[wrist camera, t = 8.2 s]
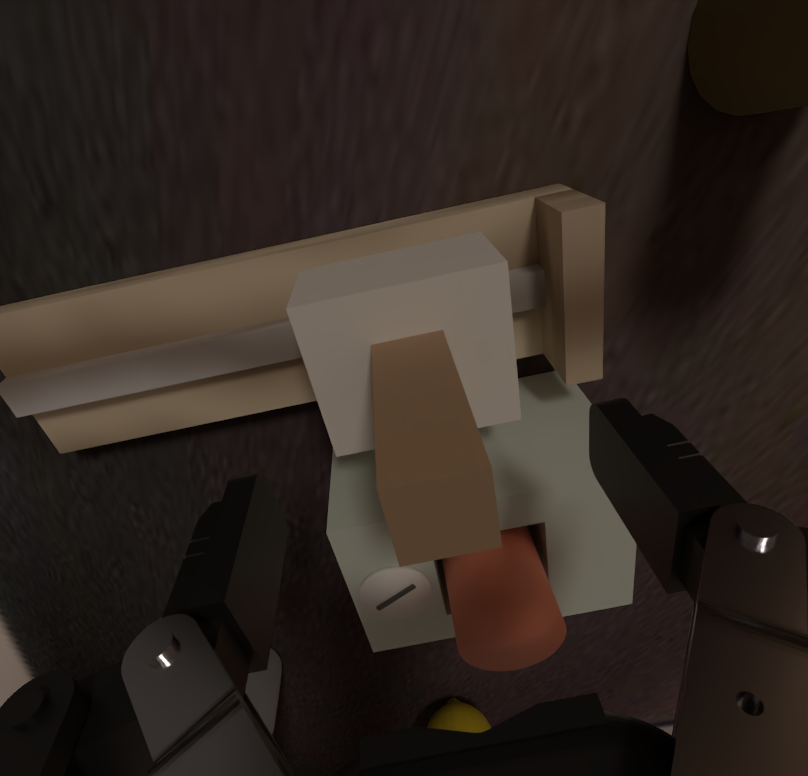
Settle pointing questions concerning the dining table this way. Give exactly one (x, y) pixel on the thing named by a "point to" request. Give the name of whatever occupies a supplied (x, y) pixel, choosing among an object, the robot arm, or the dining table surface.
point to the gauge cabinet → (517, 506)
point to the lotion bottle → (266, 690)
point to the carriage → (416, 381)
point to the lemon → (459, 718)
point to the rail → (278, 322)
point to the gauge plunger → (503, 605)
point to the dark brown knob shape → (750, 54)
